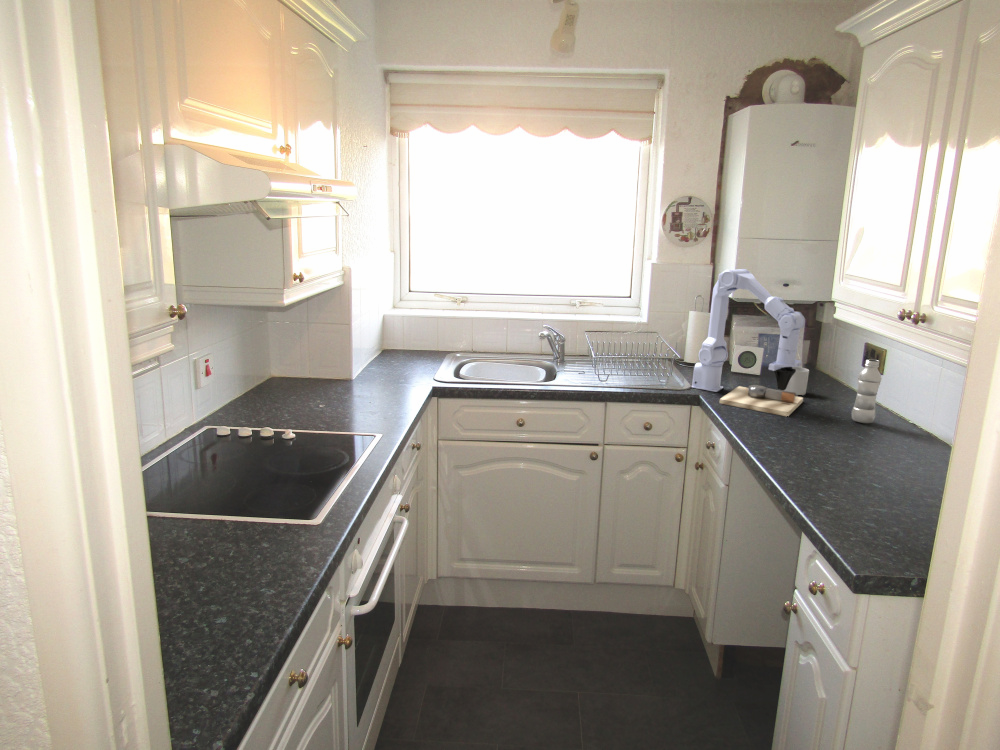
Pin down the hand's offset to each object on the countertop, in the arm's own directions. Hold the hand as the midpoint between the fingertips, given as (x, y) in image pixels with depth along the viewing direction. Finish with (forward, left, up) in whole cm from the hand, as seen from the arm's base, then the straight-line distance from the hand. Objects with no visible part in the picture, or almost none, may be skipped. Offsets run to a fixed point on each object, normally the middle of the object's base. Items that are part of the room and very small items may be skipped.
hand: (781, 389), depth 226 cm
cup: (-1, +23, -7) cm, 24 cm away
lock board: (-6, +2, -6) cm, 9 cm away
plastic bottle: (+25, +1, -7) cm, 26 cm away
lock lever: (-4, +4, -5) cm, 7 cm away
